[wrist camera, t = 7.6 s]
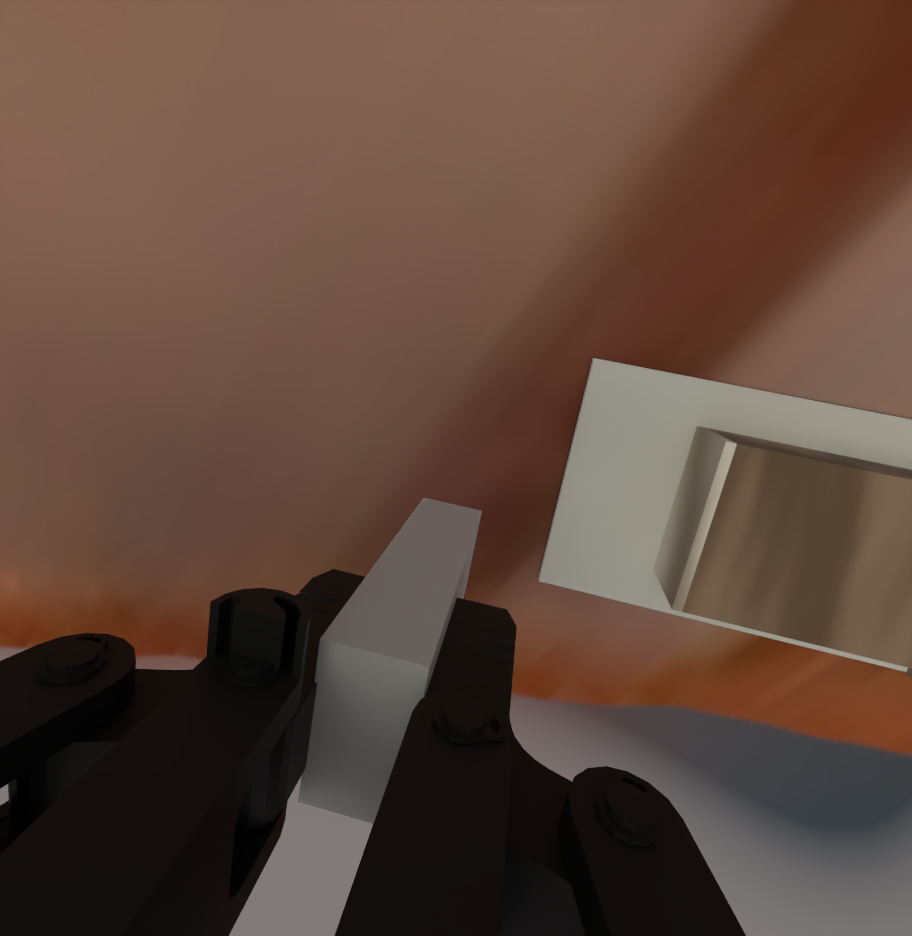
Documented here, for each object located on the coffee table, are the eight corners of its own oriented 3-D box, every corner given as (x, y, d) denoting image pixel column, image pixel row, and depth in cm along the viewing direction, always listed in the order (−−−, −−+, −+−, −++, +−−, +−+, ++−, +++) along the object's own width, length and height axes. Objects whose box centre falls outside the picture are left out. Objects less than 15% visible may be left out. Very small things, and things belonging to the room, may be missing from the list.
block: (671, 609, 21) (968, 682, 20) (726, 441, 20) (1055, 509, 18) (653, 569, 25) (901, 628, 24) (696, 425, 23) (967, 480, 22)
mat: (538, 576, 27) (537, 591, 25) (592, 357, 24) (595, 358, 22) (921, 670, 25) (948, 694, 23) (1028, 442, 22) (1069, 450, 20)
